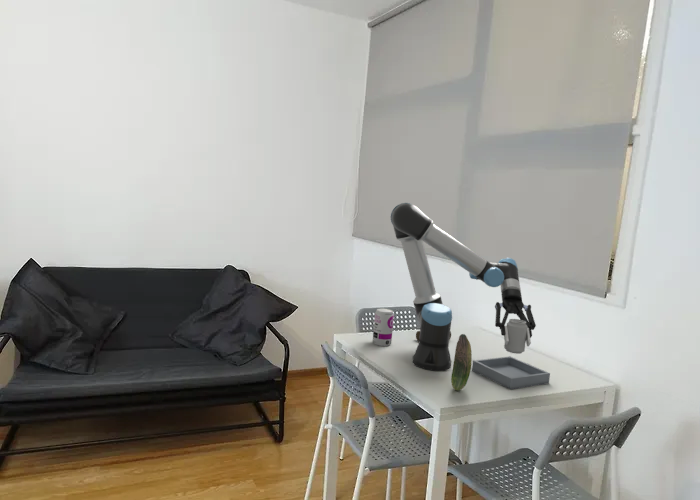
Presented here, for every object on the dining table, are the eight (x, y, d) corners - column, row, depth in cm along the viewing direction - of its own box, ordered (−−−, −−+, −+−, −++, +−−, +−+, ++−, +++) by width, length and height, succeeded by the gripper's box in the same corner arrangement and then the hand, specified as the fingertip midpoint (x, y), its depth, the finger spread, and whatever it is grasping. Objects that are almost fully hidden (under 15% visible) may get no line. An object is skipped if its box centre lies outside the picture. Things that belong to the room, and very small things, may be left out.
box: (510, 389, 185) (511, 378, 184) (471, 370, 202) (472, 360, 202) (548, 383, 195) (550, 373, 194) (509, 365, 212) (510, 356, 212)
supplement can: (394, 343, 229) (397, 310, 227) (385, 347, 222) (388, 313, 221) (378, 339, 233) (381, 307, 232) (369, 343, 226) (372, 309, 225)
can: (521, 355, 192) (525, 324, 191) (501, 351, 196) (505, 320, 195) (526, 351, 199) (530, 320, 197) (506, 346, 203) (510, 316, 201)
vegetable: (457, 385, 184) (463, 331, 182) (472, 391, 180) (478, 335, 177) (447, 388, 180) (453, 332, 178) (461, 395, 176) (468, 337, 173)
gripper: (533, 299, 210) (542, 350, 196) (483, 295, 211) (488, 346, 197) (539, 289, 204) (548, 341, 190) (487, 285, 205) (492, 336, 191)
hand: (517, 343), depth 193 cm, fingers closed on can, 7 cm apart
